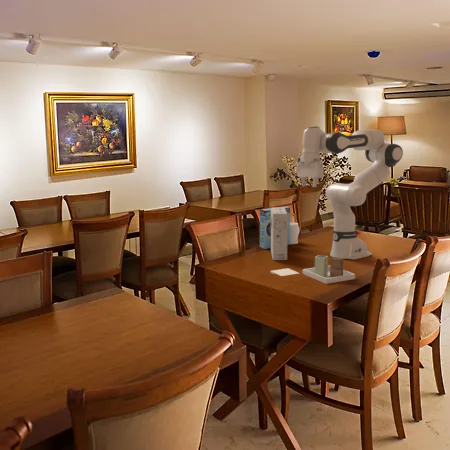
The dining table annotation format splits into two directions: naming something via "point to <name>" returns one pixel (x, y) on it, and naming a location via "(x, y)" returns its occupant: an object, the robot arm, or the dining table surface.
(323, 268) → the sage box
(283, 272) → the pad
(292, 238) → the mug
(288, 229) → the light blue carton
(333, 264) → the walnut box
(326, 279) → the white tray
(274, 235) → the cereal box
